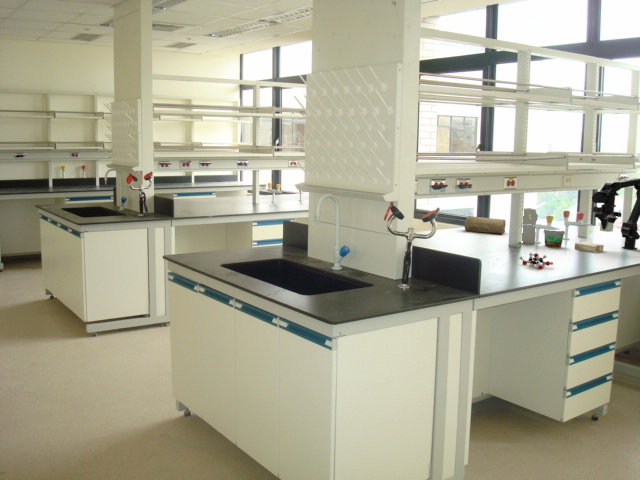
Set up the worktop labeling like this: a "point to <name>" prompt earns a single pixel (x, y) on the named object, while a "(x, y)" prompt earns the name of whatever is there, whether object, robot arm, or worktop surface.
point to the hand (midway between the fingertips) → (606, 229)
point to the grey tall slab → (529, 231)
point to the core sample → (485, 225)
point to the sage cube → (607, 227)
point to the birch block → (589, 247)
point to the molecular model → (536, 260)
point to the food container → (553, 238)
